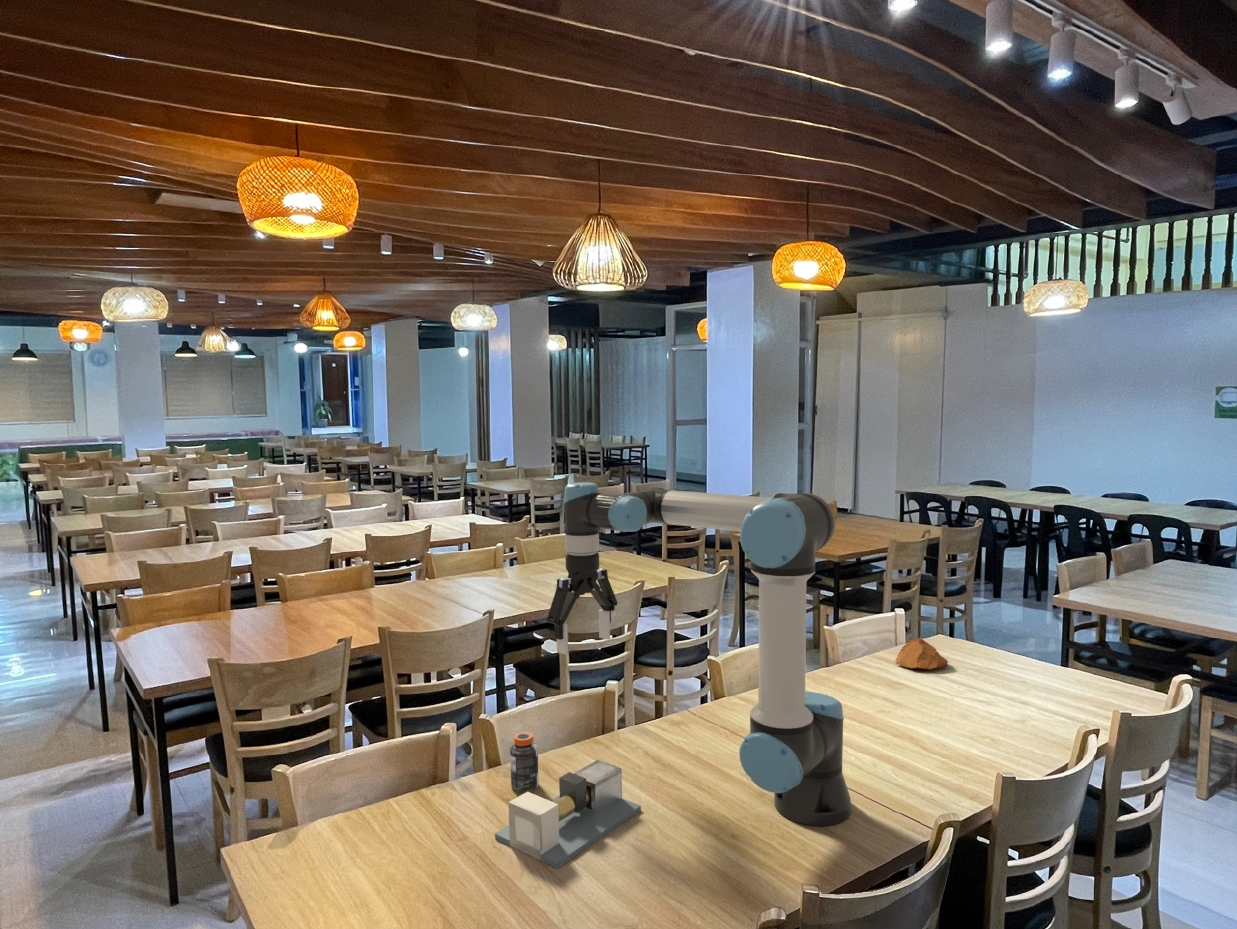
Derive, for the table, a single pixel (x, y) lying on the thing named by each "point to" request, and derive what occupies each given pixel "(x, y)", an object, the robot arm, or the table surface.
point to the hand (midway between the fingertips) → (584, 645)
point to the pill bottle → (524, 763)
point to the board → (581, 830)
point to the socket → (533, 824)
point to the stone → (920, 655)
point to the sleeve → (602, 785)
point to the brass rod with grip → (572, 795)
